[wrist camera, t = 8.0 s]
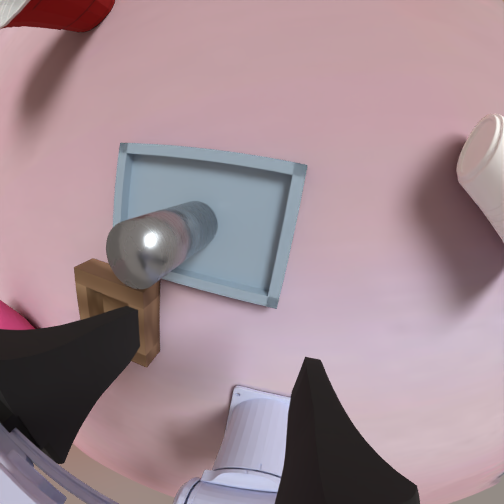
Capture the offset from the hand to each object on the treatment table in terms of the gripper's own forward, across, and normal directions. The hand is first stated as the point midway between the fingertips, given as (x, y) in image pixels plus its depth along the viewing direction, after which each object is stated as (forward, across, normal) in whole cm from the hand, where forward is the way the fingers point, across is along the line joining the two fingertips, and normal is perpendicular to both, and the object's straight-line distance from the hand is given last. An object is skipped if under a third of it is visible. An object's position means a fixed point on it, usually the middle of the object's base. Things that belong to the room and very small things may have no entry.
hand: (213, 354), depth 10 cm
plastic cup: (+11, +22, -24) cm, 34 cm away
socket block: (+10, +12, +7) cm, 17 cm away
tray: (+10, +5, -3) cm, 12 cm away
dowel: (+10, +5, -2) cm, 11 cm away
